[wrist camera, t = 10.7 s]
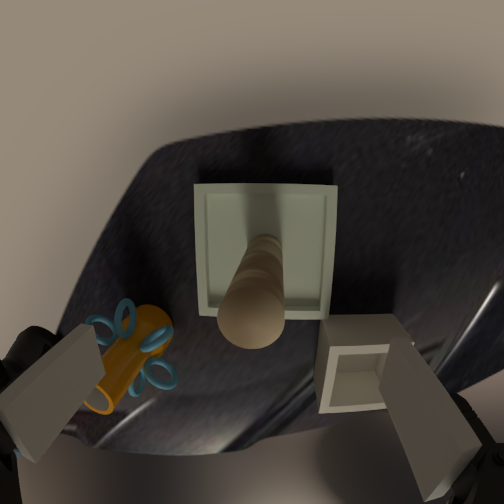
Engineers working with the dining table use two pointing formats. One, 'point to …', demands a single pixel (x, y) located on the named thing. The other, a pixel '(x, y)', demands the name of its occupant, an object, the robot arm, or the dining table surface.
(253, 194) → the tray
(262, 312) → the dowel
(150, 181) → the dining table surface
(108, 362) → the tube with teal loops
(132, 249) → the dining table surface
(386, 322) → the hollow square block
